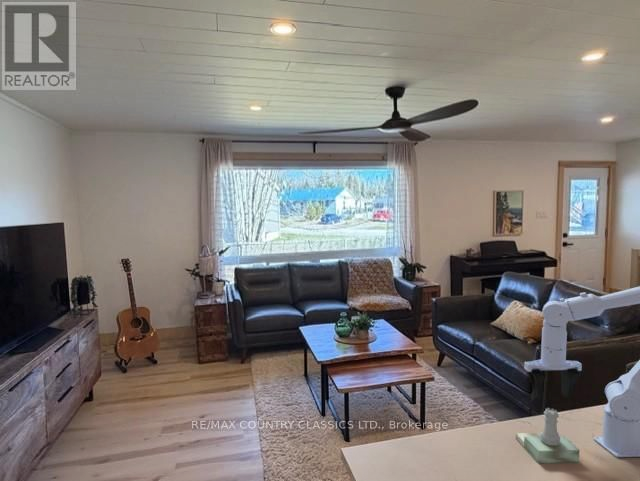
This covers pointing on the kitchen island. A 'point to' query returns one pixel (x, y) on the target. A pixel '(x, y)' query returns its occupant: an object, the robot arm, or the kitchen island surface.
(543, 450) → the stepped riser
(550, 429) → the rook chess piece
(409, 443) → the kitchen island surface
